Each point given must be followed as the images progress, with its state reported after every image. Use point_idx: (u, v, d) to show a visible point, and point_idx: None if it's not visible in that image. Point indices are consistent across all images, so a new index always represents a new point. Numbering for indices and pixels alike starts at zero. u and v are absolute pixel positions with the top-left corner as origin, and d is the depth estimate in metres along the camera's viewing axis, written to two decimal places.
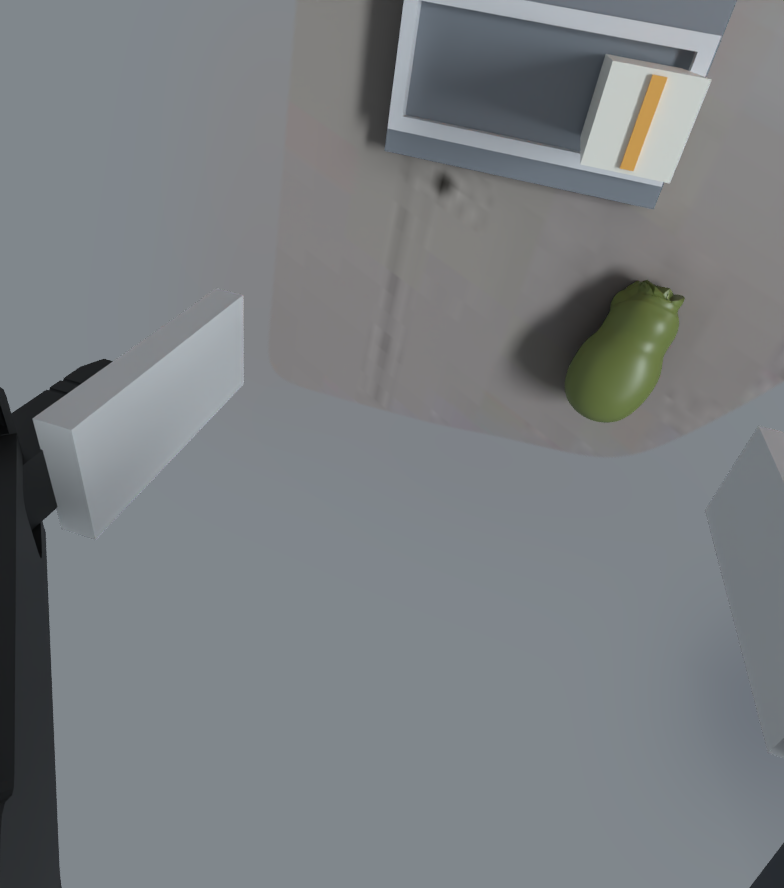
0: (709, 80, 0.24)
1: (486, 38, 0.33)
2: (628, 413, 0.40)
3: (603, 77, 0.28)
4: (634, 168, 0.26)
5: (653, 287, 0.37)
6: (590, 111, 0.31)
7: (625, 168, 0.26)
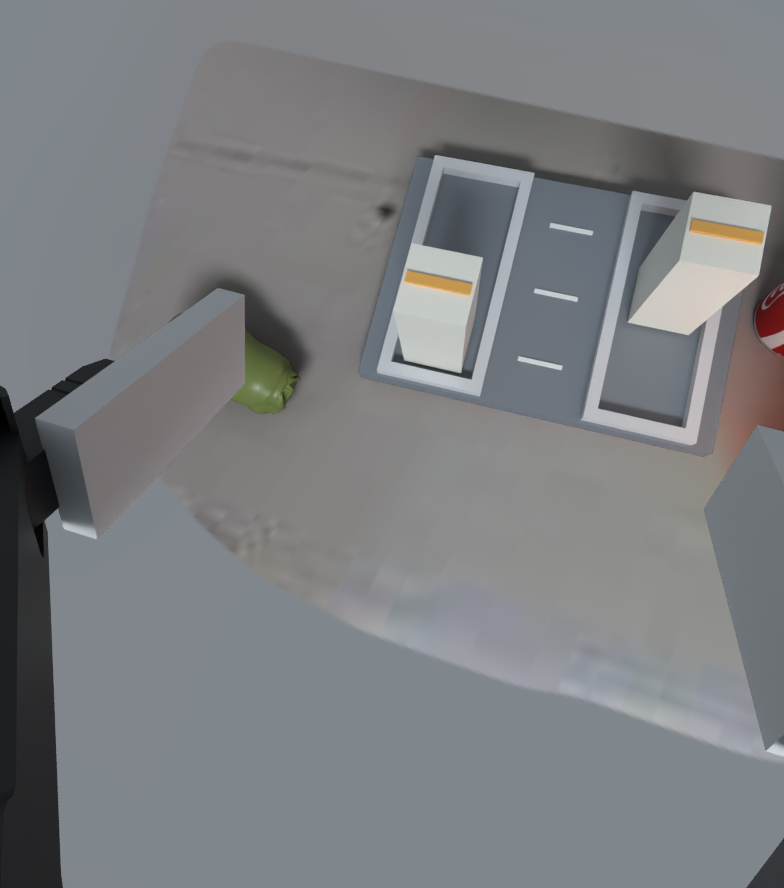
0: (465, 325, 0.32)
1: (491, 234, 0.42)
2: None
3: None
4: (406, 281, 0.32)
5: (294, 378, 0.41)
6: None
7: (406, 274, 0.32)
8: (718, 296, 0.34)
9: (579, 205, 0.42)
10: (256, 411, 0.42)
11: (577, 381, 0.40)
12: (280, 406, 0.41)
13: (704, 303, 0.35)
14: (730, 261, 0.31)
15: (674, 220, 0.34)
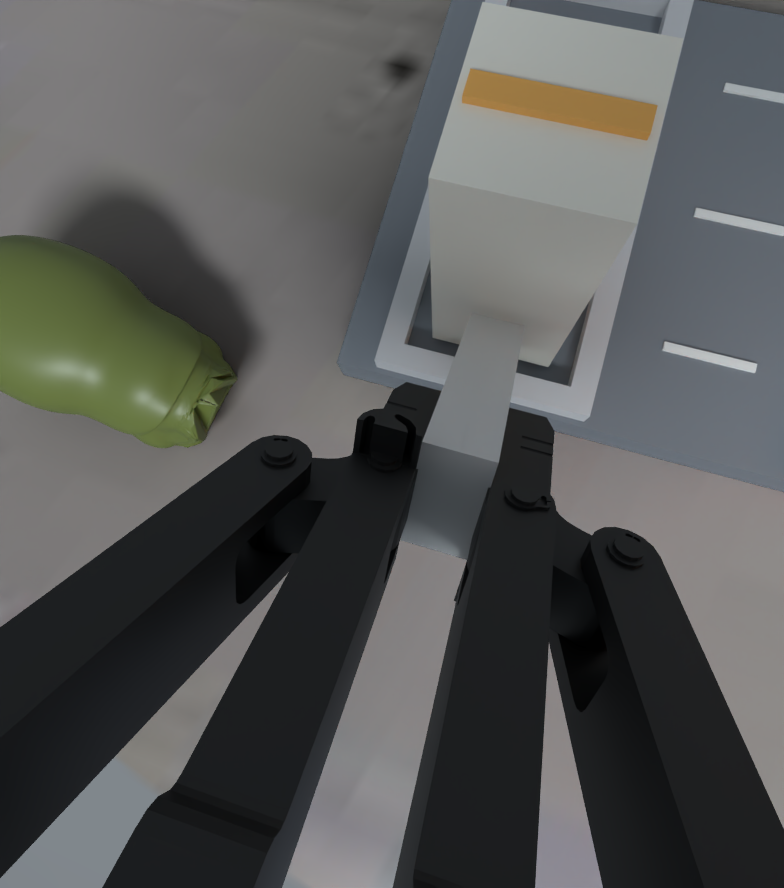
0: (635, 219, 0.11)
1: None
2: None
3: None
4: (468, 99, 0.12)
5: (222, 379, 0.20)
6: None
7: (470, 79, 0.12)
8: None
9: (782, 51, 0.21)
10: (149, 443, 0.21)
11: None
12: (192, 436, 0.20)
13: None
14: None
15: None
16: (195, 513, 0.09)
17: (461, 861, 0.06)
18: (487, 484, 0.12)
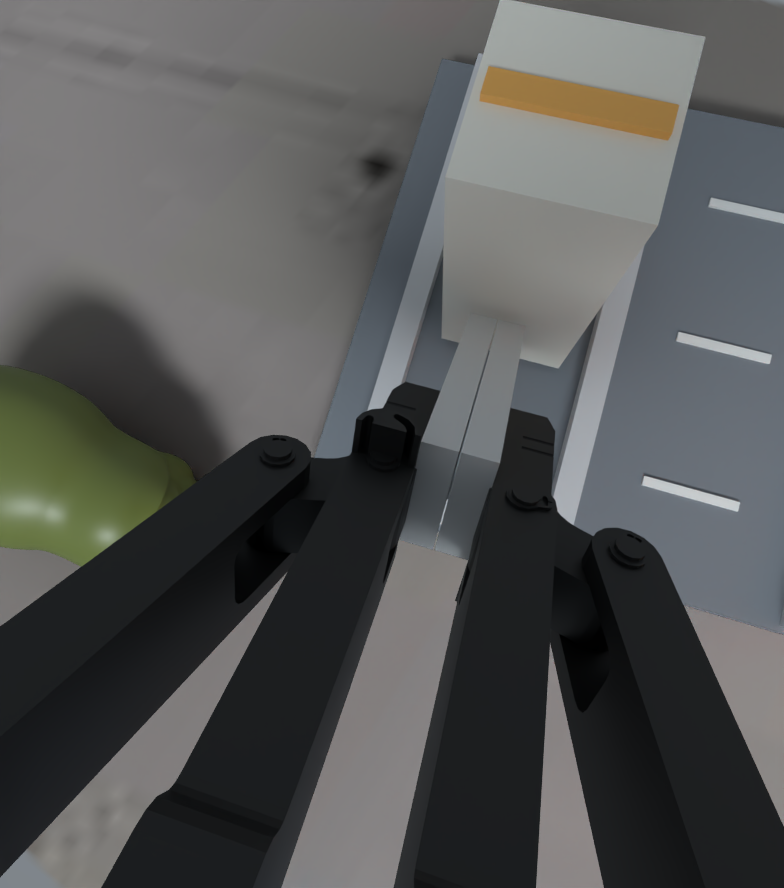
0: (656, 221, 0.11)
1: None
2: None
3: None
4: (486, 97, 0.11)
5: None
6: None
7: (487, 77, 0.11)
8: None
9: (770, 164, 0.21)
10: None
11: (772, 539, 0.19)
12: None
13: None
14: None
15: None
16: (194, 513, 0.09)
17: (462, 861, 0.06)
18: (488, 484, 0.11)
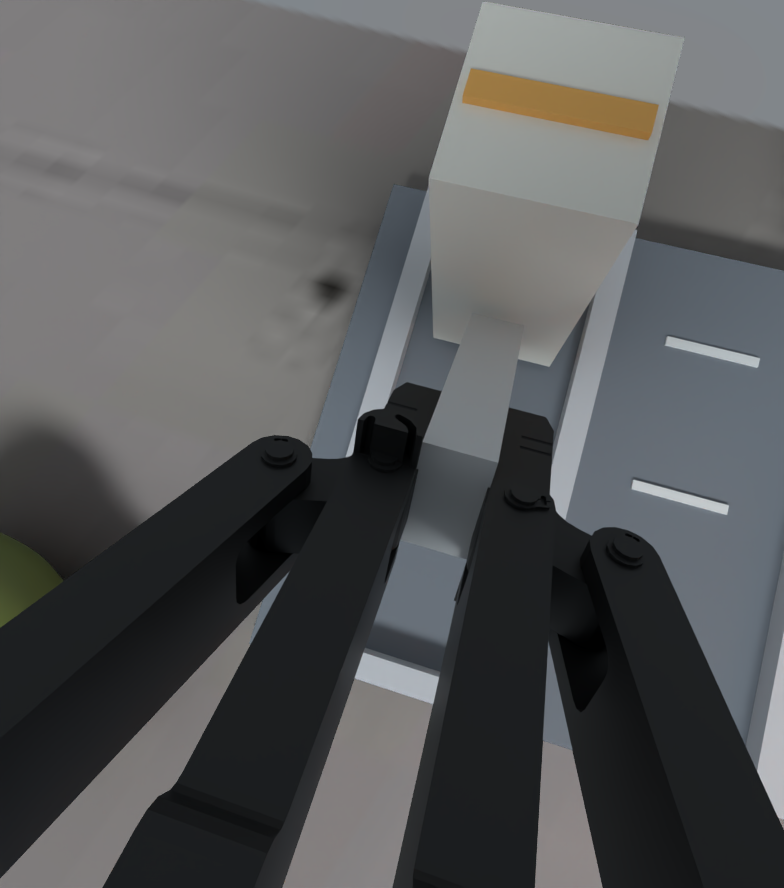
0: (637, 219, 0.11)
1: None
2: None
3: None
4: (469, 99, 0.11)
5: None
6: None
7: (470, 79, 0.11)
8: None
9: (728, 300, 0.20)
10: None
11: (728, 703, 0.18)
12: None
13: None
14: None
15: None
16: (195, 513, 0.09)
17: (461, 860, 0.06)
18: (486, 484, 0.11)
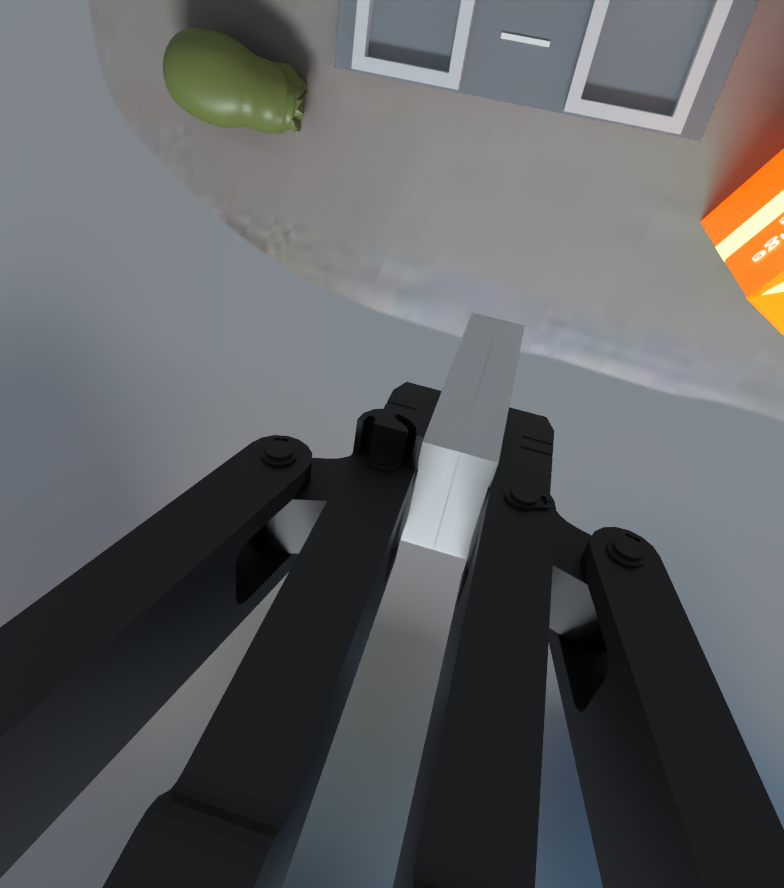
0: None
1: None
2: (181, 105, 0.41)
3: None
4: None
5: (301, 98, 0.41)
6: None
7: None
8: None
9: None
10: None
11: (565, 61, 0.36)
12: (295, 130, 0.42)
13: None
14: None
15: None
16: (195, 513, 0.09)
17: (461, 861, 0.06)
18: (487, 484, 0.12)
